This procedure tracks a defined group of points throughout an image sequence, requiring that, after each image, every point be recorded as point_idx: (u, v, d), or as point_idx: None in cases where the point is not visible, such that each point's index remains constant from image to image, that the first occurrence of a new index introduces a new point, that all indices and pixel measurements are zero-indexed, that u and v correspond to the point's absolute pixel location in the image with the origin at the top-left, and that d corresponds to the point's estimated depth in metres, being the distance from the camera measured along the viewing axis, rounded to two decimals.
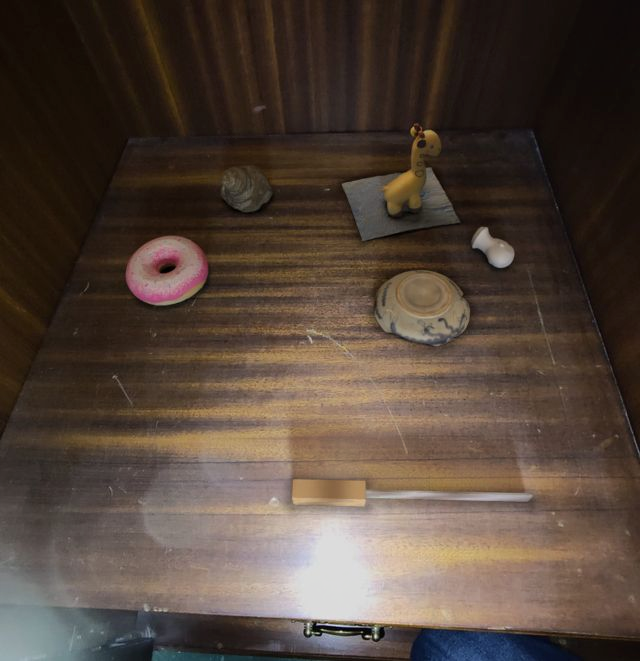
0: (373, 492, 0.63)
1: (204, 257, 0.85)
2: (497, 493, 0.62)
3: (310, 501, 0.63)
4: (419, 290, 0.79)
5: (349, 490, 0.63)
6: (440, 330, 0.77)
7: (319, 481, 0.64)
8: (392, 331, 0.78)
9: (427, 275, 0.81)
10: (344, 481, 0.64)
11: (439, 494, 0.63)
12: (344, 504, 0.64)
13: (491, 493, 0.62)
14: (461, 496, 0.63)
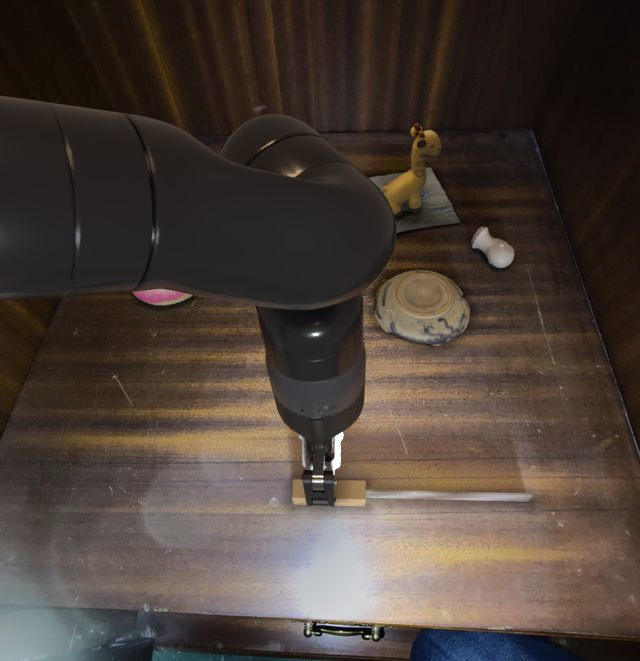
0: (373, 492, 0.63)
1: None
2: (497, 493, 0.62)
3: None
4: (419, 290, 0.79)
5: (349, 490, 0.63)
6: (440, 330, 0.77)
7: None
8: (392, 331, 0.78)
9: (427, 275, 0.81)
10: (344, 481, 0.64)
11: (439, 494, 0.63)
12: (344, 504, 0.64)
13: (491, 493, 0.62)
14: (461, 496, 0.63)
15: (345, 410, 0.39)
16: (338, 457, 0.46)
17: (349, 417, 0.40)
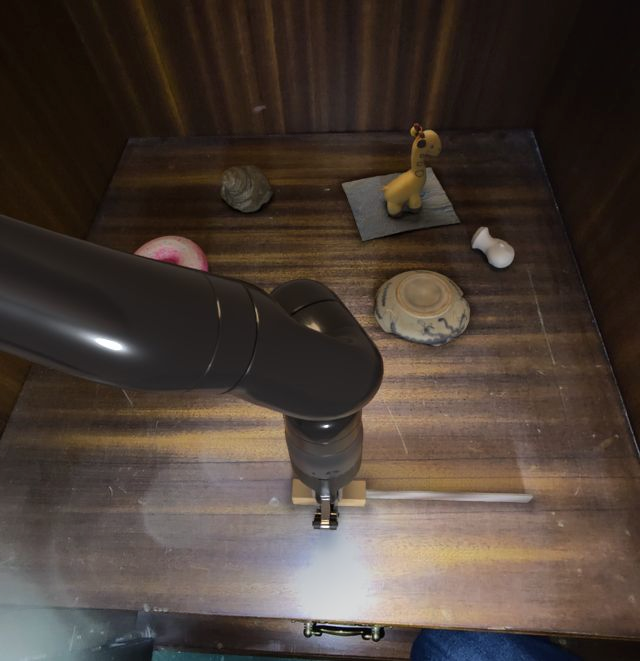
0: (373, 492, 0.63)
1: (204, 257, 0.85)
2: (497, 493, 0.62)
3: (310, 501, 0.63)
4: (419, 290, 0.79)
5: (349, 490, 0.63)
6: (440, 330, 0.77)
7: None
8: (392, 331, 0.78)
9: (427, 275, 0.81)
10: None
11: (439, 494, 0.63)
12: (344, 504, 0.64)
13: (491, 494, 0.62)
14: (461, 497, 0.63)
15: (347, 472, 0.50)
16: (340, 494, 0.58)
17: (350, 476, 0.51)
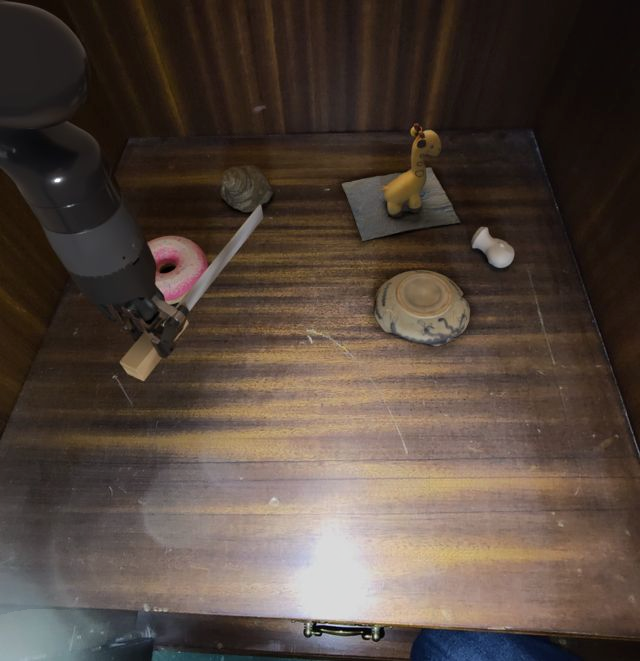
0: (181, 304, 0.62)
1: (204, 257, 0.85)
2: (244, 223, 0.70)
3: (152, 359, 0.59)
4: (419, 290, 0.79)
5: None
6: (440, 330, 0.77)
7: (139, 340, 0.59)
8: (392, 331, 0.78)
9: (427, 275, 0.81)
10: None
11: (218, 260, 0.66)
12: None
13: (241, 227, 0.69)
14: (230, 249, 0.68)
15: (144, 241, 0.48)
16: None
17: (150, 251, 0.49)
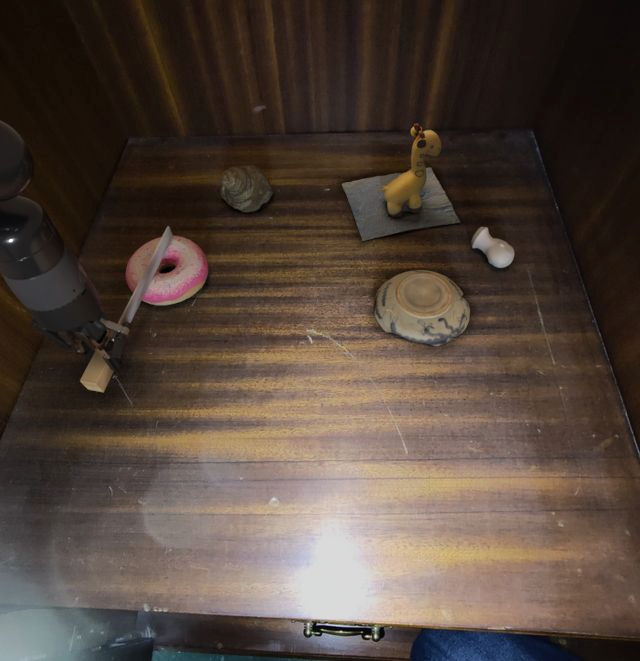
0: (120, 323, 0.74)
1: (204, 257, 0.85)
2: (158, 245, 0.82)
3: (106, 372, 0.70)
4: (419, 290, 0.79)
5: None
6: (440, 330, 0.77)
7: (92, 359, 0.70)
8: (392, 331, 0.78)
9: (427, 275, 0.81)
10: None
11: (143, 280, 0.78)
12: None
13: (156, 248, 0.81)
14: (151, 269, 0.80)
15: (87, 275, 0.60)
16: None
17: (92, 283, 0.61)
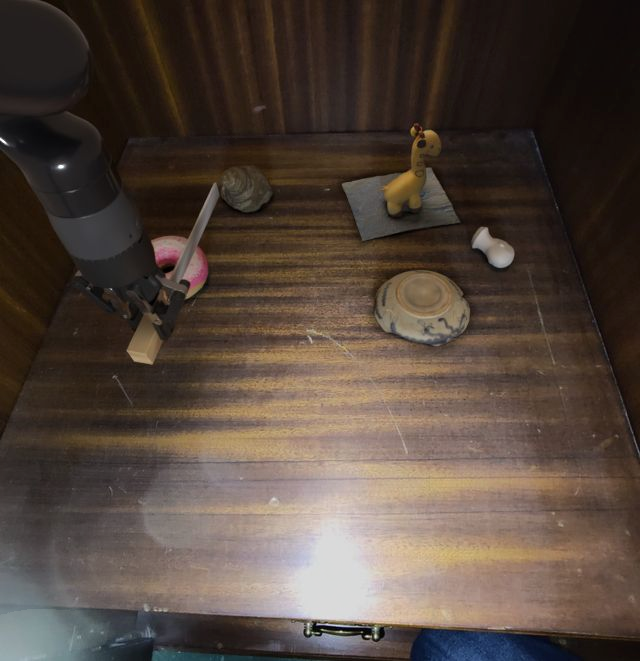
0: None
1: (204, 257, 0.85)
2: (205, 202, 0.72)
3: (155, 341, 0.61)
4: (419, 290, 0.79)
5: None
6: (440, 330, 0.77)
7: (139, 327, 0.61)
8: (392, 331, 0.78)
9: (427, 275, 0.81)
10: None
11: (191, 240, 0.69)
12: None
13: (204, 206, 0.72)
14: (198, 228, 0.71)
15: (142, 221, 0.51)
16: None
17: None
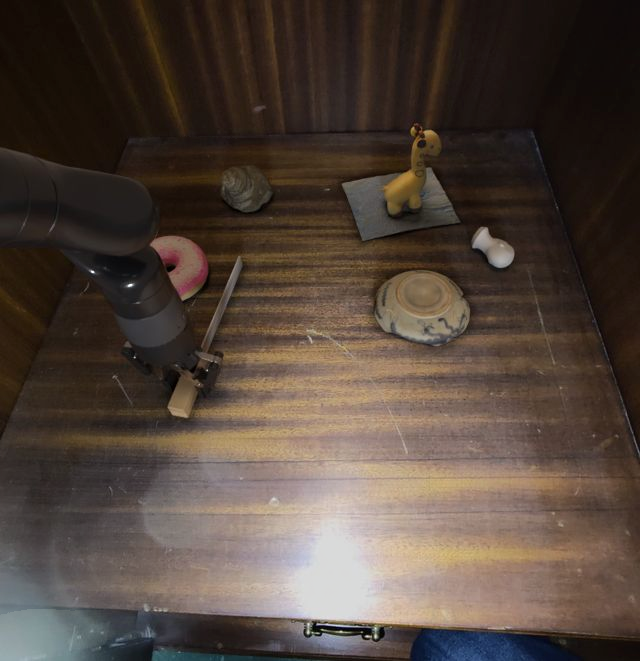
0: None
1: (204, 257, 0.85)
2: (231, 274, 0.84)
3: (191, 398, 0.72)
4: (419, 290, 0.79)
5: None
6: (440, 330, 0.77)
7: (177, 386, 0.72)
8: (392, 331, 0.78)
9: (427, 275, 0.81)
10: None
11: (219, 308, 0.81)
12: None
13: (230, 277, 0.84)
14: (225, 297, 0.83)
15: (186, 311, 0.62)
16: None
17: None
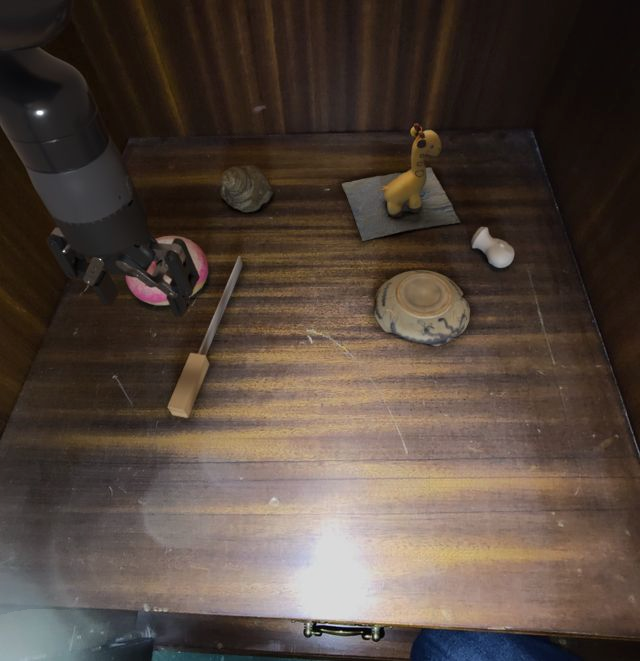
0: (201, 350, 0.76)
1: (204, 257, 0.85)
2: (231, 274, 0.84)
3: (191, 398, 0.72)
4: (419, 290, 0.79)
5: (194, 365, 0.74)
6: (440, 330, 0.77)
7: (177, 386, 0.72)
8: (392, 331, 0.78)
9: (427, 275, 0.81)
10: (185, 367, 0.74)
11: (219, 308, 0.81)
12: (202, 377, 0.75)
13: (230, 277, 0.84)
14: (225, 297, 0.83)
15: None
16: None
17: None
